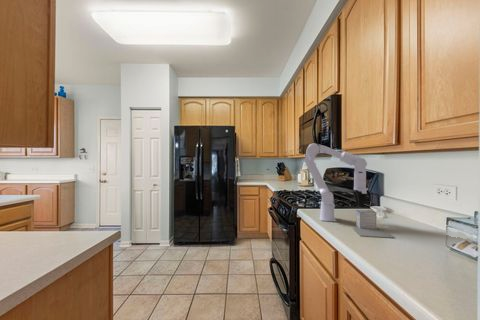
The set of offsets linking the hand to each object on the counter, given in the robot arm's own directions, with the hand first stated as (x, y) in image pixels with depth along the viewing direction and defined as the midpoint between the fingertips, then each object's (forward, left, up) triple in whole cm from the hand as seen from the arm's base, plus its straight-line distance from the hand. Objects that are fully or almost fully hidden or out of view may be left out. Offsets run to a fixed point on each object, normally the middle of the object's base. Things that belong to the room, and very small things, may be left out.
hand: (359, 205), depth 126 cm
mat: (+19, 0, -9) cm, 21 cm away
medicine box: (+10, 0, -10) cm, 14 cm away
